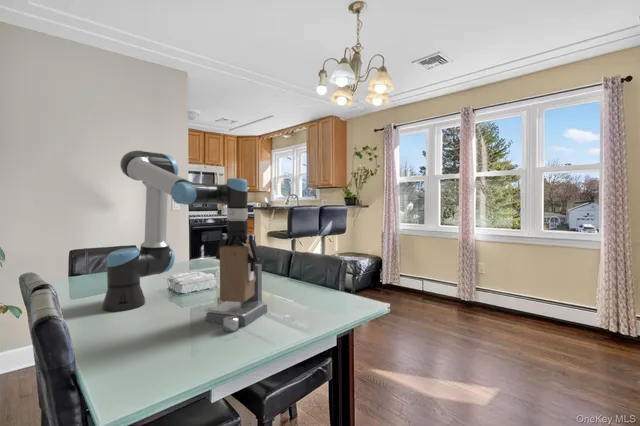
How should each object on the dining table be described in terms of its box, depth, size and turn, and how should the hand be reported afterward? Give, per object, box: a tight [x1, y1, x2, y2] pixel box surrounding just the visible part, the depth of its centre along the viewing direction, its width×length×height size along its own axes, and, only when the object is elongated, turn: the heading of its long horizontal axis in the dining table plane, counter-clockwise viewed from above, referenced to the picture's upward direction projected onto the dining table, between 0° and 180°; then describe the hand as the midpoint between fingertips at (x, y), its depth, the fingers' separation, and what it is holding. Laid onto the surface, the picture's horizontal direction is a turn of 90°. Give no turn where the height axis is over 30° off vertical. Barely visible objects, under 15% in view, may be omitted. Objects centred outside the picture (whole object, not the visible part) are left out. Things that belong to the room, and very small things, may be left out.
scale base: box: [206, 263, 268, 328], centre depth 125 cm, size 16×19×18 cm
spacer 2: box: [222, 316, 240, 334], centre depth 111 cm, size 5×5×4 cm
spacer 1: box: [216, 296, 225, 306], centre depth 135 cm, size 5×5×4 cm
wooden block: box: [219, 243, 254, 302], centre depth 123 cm, size 10×10×20 cm
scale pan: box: [208, 300, 266, 317], centre depth 124 cm, size 15×15×4 cm
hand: (237, 278), depth 123 cm, fingers closed on wooden block, 10 cm apart
